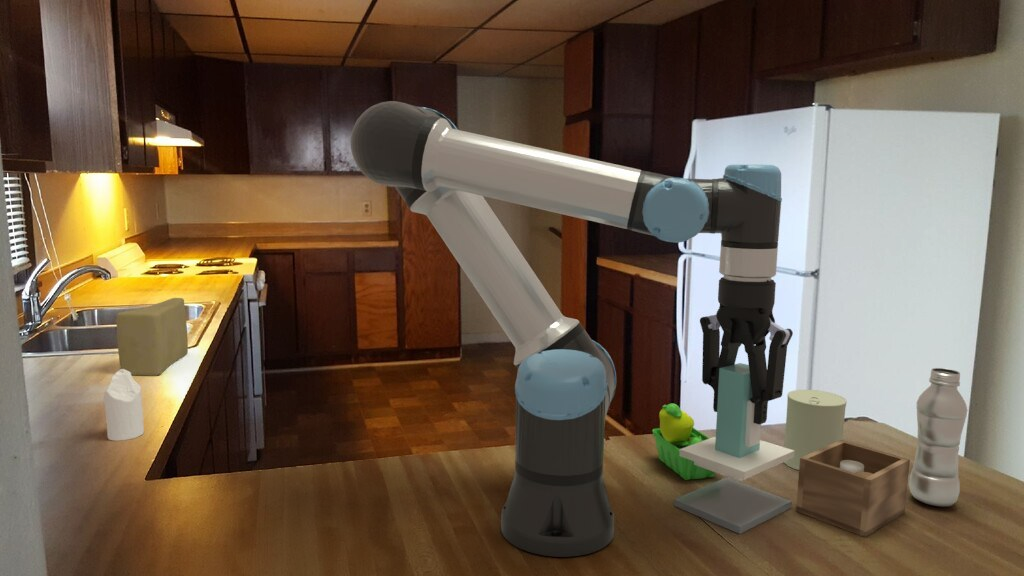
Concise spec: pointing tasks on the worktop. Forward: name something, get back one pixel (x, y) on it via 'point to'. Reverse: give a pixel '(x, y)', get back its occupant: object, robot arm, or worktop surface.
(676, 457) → the fruit basket
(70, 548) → the worktop surface
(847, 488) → the box
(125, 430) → the white upright rounded piece
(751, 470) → the lid
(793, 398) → the can
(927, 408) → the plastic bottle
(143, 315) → the cheese
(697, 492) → the plate
